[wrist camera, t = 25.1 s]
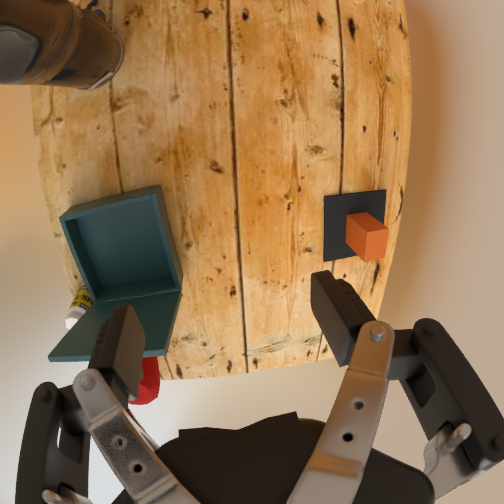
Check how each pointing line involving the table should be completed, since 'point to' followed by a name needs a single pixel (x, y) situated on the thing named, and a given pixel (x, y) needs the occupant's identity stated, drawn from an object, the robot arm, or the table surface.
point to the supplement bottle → (78, 307)
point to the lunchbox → (124, 245)
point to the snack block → (366, 236)
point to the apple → (148, 381)
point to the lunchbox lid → (87, 327)
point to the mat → (337, 217)
